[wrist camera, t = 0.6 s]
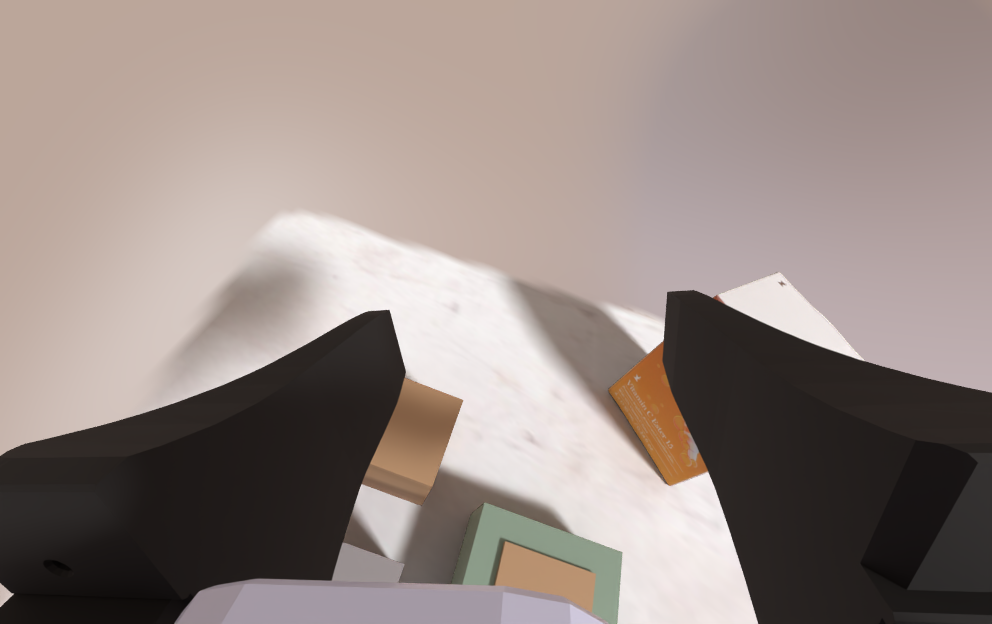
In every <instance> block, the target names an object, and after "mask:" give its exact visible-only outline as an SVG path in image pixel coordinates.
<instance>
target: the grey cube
mask: <svg viewBox="0 0 992 624" xmlns="http://www.w3.org/2000/svg"><path fill="white" fill-rule="evenodd" d="M404 565H405V564H402V563H400V562H397V561H394V560H391V559H388V558H386V557H383V556H380V555H377V554H375V553H372V552H369V551H366V550H364V549H361V548H358V547H355V546H352V545H350V544H347V543H344V542H343V543H342V546H341V549H340V553H339V556H338V560H337V563H336V566H335V570H334V574H333V578H332V581H355V582H389V583H398V582H399V579H400V576H401V573H402V571H403V568H404Z"/></svg>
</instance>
